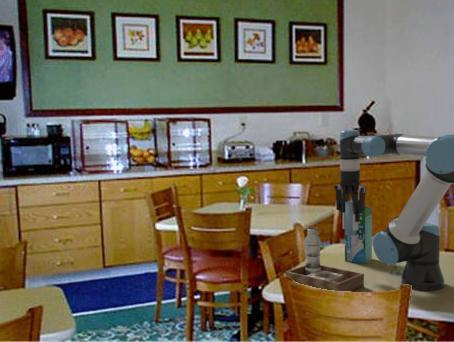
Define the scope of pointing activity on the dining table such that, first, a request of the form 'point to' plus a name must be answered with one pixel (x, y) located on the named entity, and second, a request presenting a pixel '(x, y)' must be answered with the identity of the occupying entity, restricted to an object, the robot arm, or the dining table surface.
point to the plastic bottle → (312, 251)
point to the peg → (349, 218)
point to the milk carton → (360, 240)
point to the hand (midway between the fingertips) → (350, 229)
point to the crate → (328, 278)
